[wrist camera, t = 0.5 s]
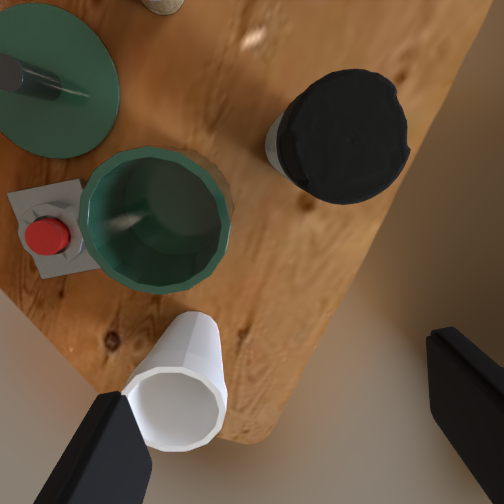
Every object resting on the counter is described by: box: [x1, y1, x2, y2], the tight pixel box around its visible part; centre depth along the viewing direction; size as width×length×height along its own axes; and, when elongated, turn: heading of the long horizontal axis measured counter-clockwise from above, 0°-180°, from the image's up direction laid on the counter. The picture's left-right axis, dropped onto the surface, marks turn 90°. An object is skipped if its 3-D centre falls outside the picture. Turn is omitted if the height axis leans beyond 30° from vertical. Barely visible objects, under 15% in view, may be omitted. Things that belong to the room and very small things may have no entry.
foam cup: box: [122, 311, 227, 451], centre depth 36 cm, size 10×9×13 cm
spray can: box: [265, 69, 411, 205], centre depth 26 cm, size 7×7×20 cm
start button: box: [25, 218, 69, 256], centre depth 34 cm, size 4×4×2 cm
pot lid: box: [0, 3, 120, 159], centre depth 30 cm, size 14×14×7 cm
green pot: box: [79, 146, 234, 295], centre depth 33 cm, size 13×13×10 cm
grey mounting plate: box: [7, 178, 101, 279], centre depth 36 cm, size 10×8×3 cm
